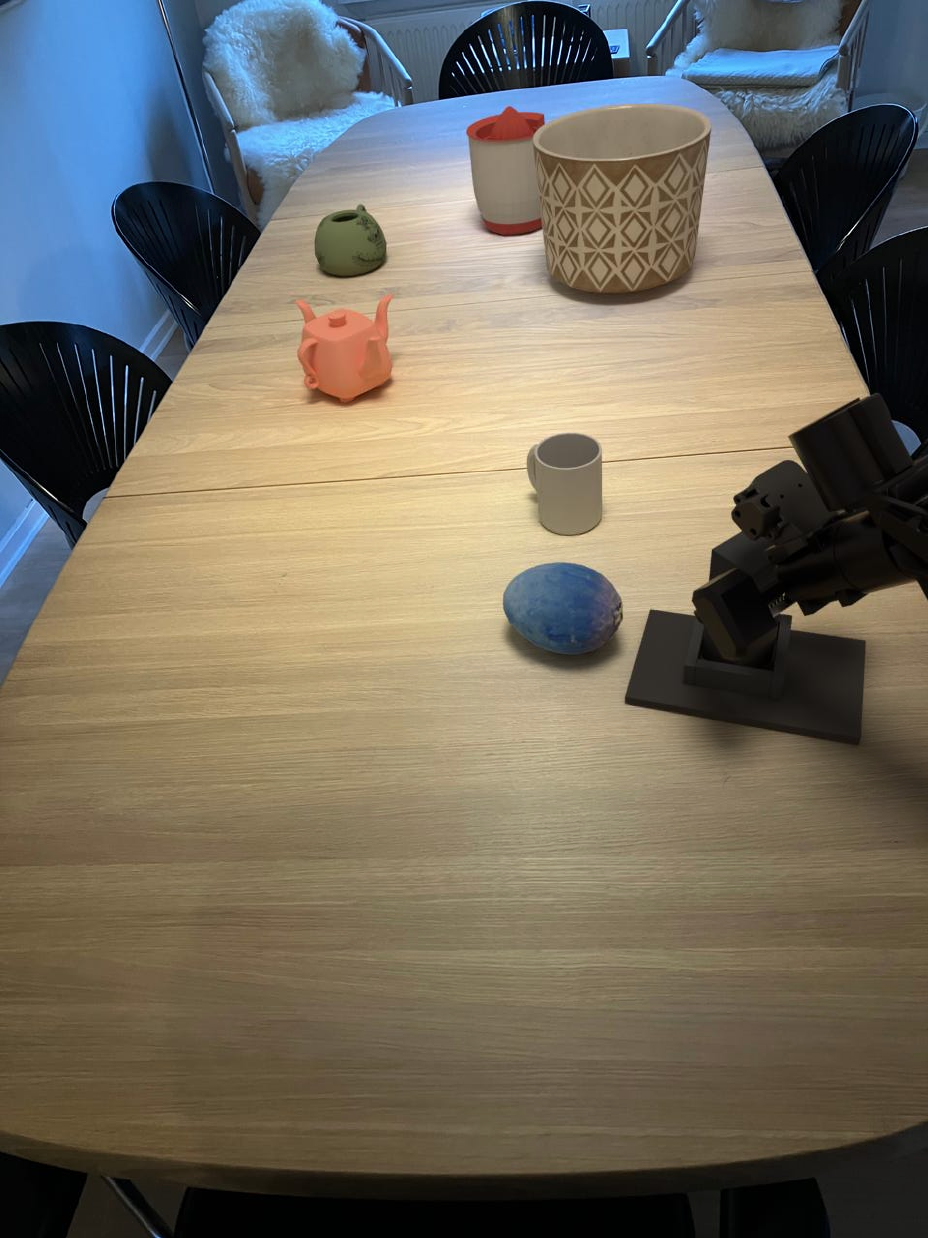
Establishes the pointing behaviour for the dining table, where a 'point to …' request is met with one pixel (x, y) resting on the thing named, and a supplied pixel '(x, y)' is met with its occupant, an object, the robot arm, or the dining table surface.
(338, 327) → the teapot
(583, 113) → the planter
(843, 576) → the robot arm
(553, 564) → the blue oval fruit
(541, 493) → the cup
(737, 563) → the pad block
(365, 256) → the green round vase
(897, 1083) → the dining table surface
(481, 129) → the citrus juicer
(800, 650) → the base pad
